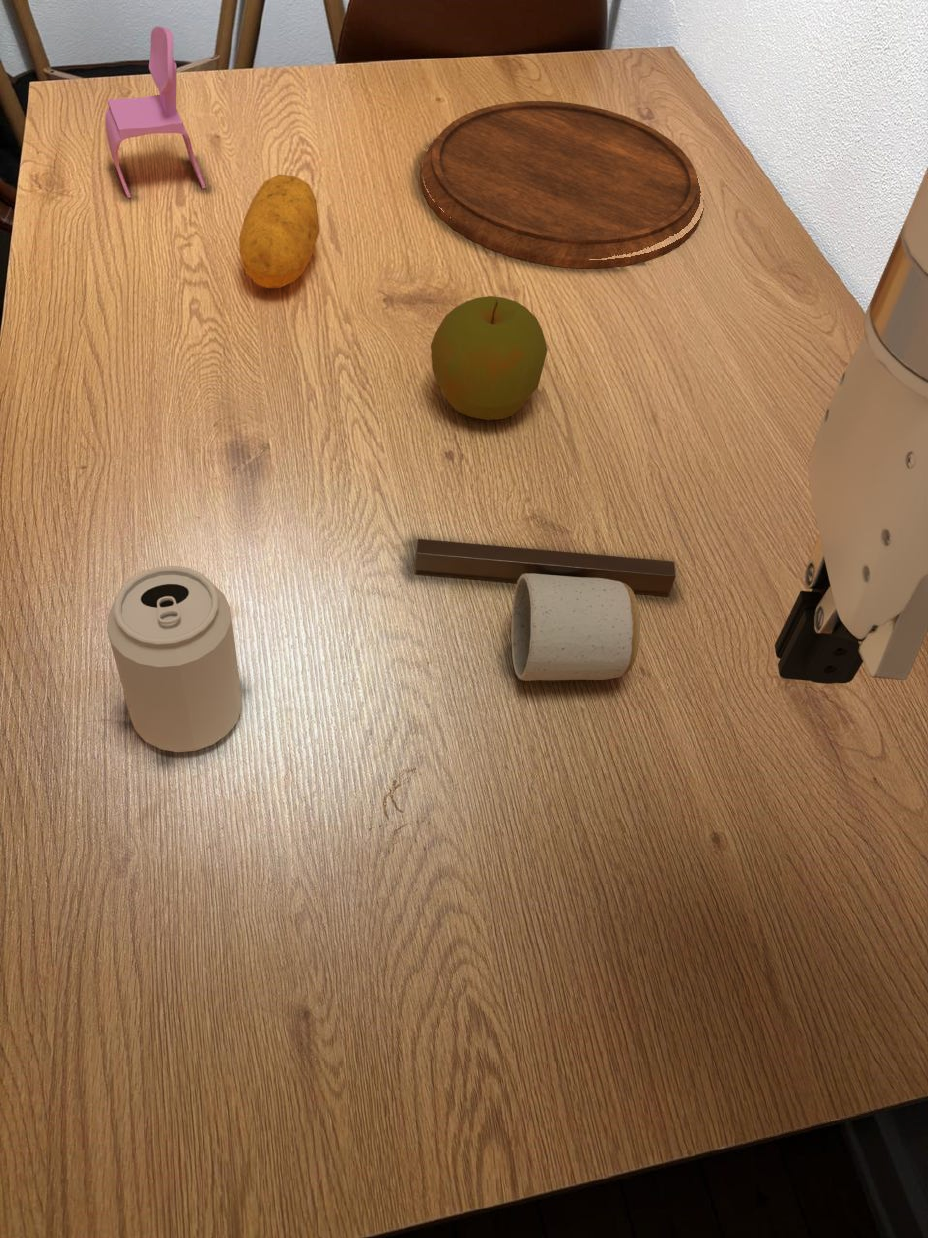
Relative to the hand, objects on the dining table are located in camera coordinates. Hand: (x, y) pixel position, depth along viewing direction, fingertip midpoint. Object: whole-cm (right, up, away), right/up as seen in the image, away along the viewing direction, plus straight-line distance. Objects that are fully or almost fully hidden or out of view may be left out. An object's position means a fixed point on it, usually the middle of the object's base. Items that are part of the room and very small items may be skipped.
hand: (811, 666), depth 48 cm
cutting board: (-4, +51, +77) cm, 92 cm away
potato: (-33, +37, +63) cm, 80 cm away
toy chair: (-48, +49, +71) cm, 99 cm away
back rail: (-9, +5, +39) cm, 40 cm away
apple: (-13, +21, +52) cm, 57 cm away
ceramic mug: (-8, 0, +35) cm, 35 cm away
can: (-34, -5, +28) cm, 45 cm away
